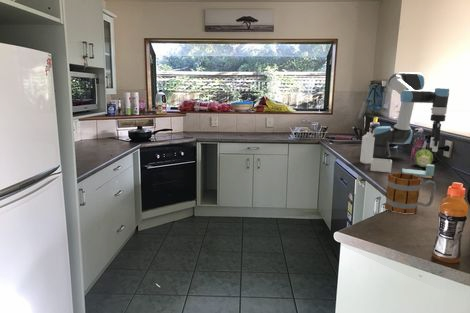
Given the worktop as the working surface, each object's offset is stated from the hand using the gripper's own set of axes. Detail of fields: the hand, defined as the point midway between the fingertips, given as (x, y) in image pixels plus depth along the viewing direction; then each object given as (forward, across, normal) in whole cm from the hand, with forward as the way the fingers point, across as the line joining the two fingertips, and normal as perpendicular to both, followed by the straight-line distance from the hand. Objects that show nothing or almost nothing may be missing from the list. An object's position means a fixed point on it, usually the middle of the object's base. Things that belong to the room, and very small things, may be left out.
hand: (433, 149), depth 210 cm
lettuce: (+17, -26, -2) cm, 31 cm away
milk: (+17, -18, -38) cm, 45 cm away
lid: (+16, +1, -7) cm, 17 cm away
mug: (+16, +74, -15) cm, 77 cm away
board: (+16, +1, -7) cm, 18 cm away
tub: (+17, +1, -28) cm, 32 cm away
